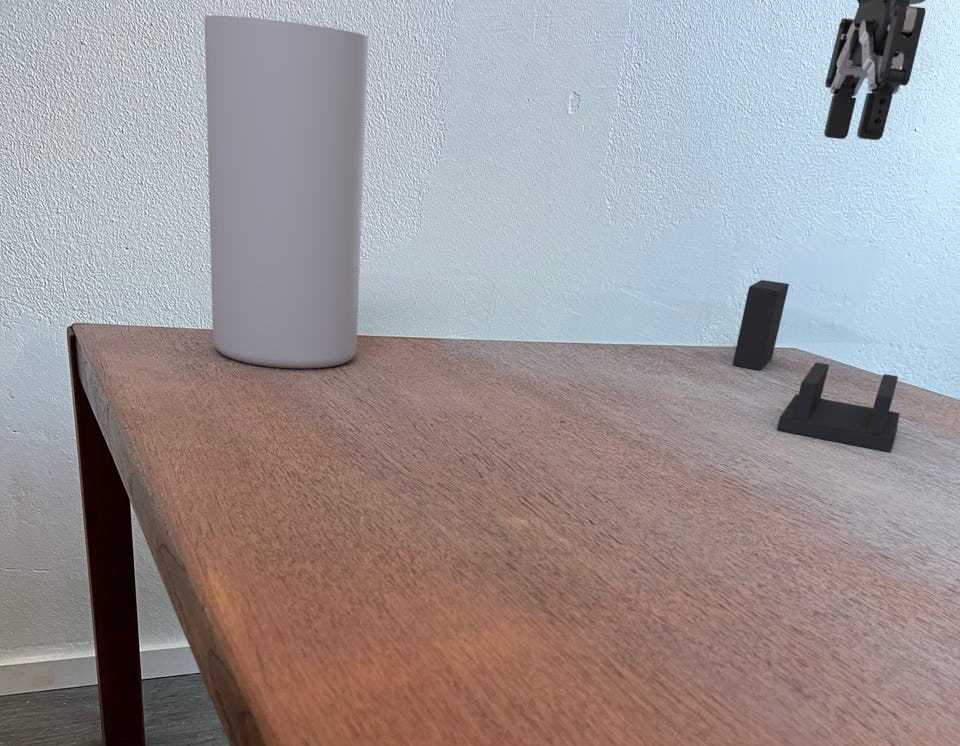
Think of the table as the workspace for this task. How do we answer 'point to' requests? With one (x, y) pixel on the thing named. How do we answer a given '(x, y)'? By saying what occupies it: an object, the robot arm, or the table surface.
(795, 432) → the base pad
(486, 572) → the table surface
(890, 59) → the robot arm
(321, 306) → the cylinder vase
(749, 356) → the block
